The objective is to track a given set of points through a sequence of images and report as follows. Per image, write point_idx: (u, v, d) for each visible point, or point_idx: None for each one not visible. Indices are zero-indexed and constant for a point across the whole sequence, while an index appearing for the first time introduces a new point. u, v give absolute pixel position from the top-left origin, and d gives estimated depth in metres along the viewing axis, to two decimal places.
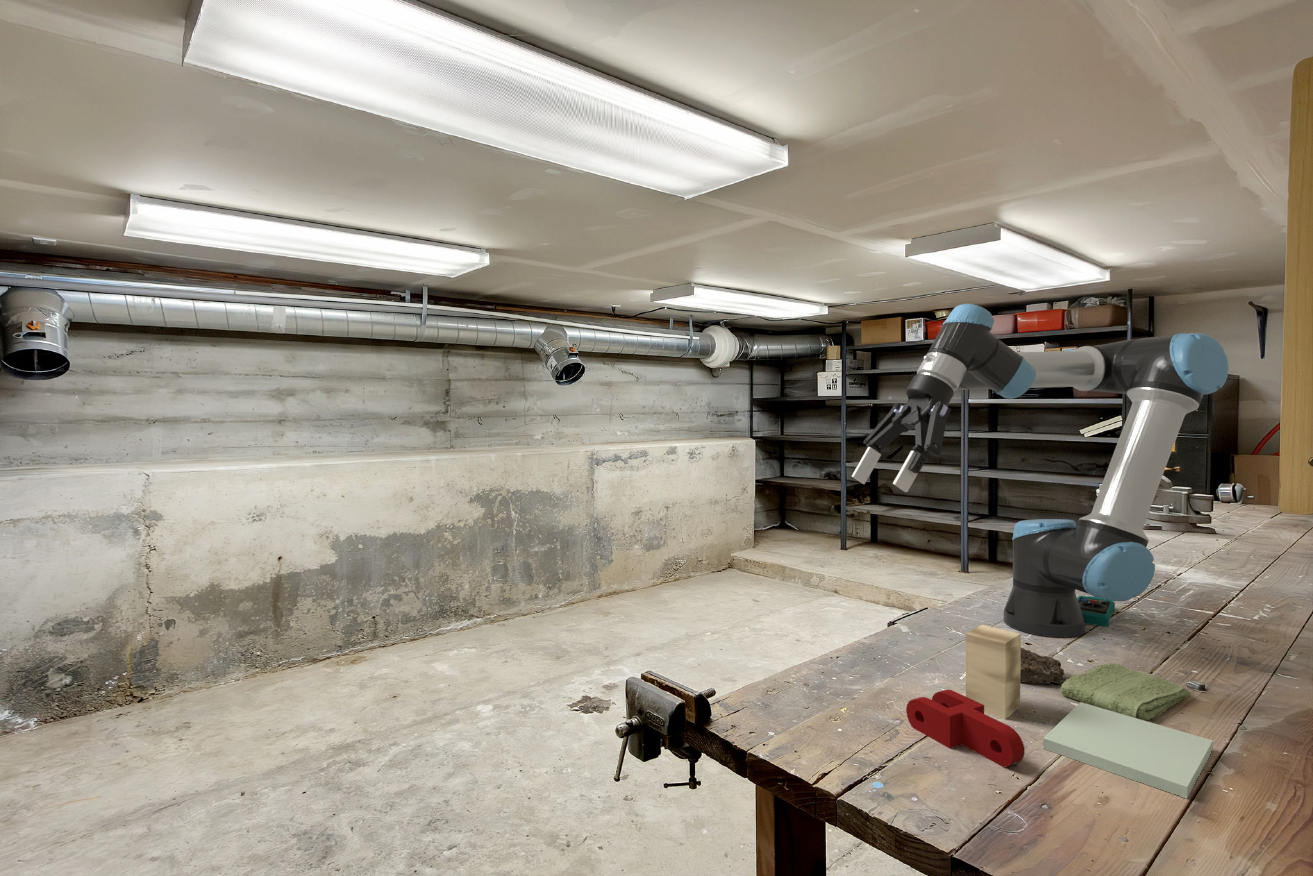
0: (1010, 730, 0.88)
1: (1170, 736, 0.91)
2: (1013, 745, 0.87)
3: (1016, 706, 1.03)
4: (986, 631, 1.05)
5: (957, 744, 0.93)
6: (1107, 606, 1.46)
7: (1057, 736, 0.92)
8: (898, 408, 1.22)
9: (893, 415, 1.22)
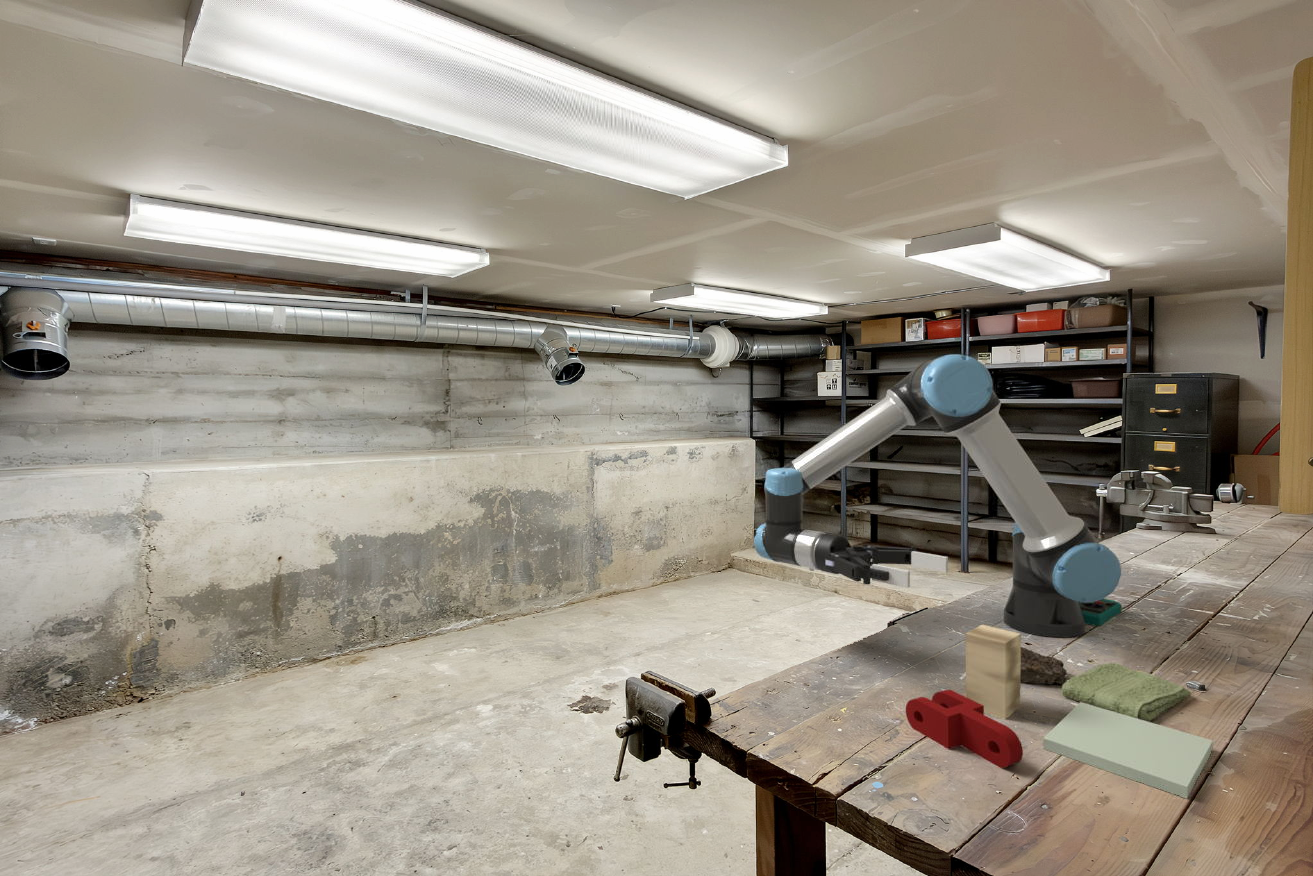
0: (1008, 731, 0.88)
1: (1170, 736, 0.91)
2: (1011, 746, 0.86)
3: (1016, 706, 1.03)
4: (986, 631, 1.05)
5: (956, 744, 0.93)
6: (1108, 607, 1.45)
7: (1057, 736, 0.92)
8: None
9: None
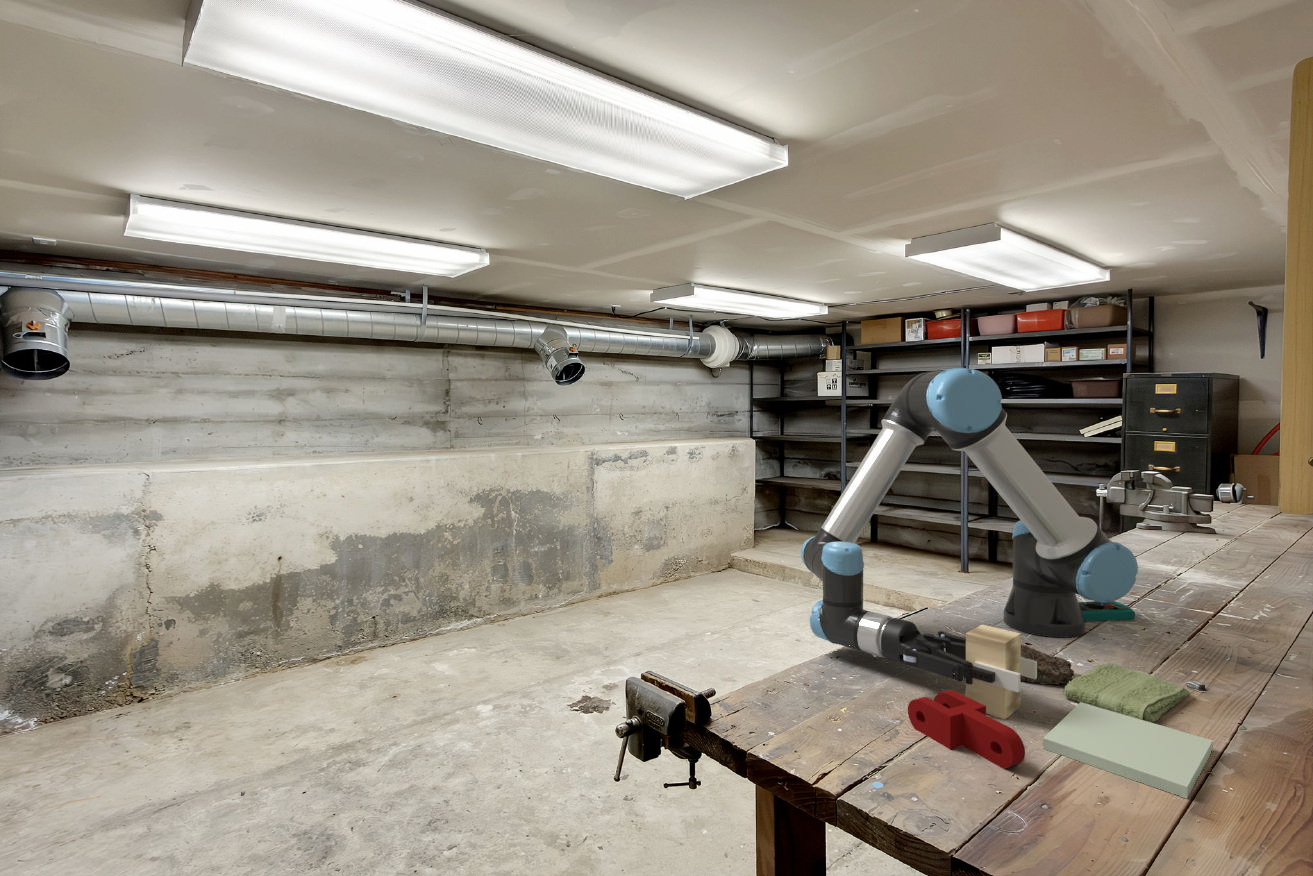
0: (1011, 731, 0.88)
1: (1170, 736, 0.91)
2: (1013, 746, 0.86)
3: (1016, 706, 1.03)
4: (986, 631, 1.05)
5: (958, 745, 0.93)
6: (1108, 610, 1.43)
7: (1057, 736, 0.92)
8: None
9: None
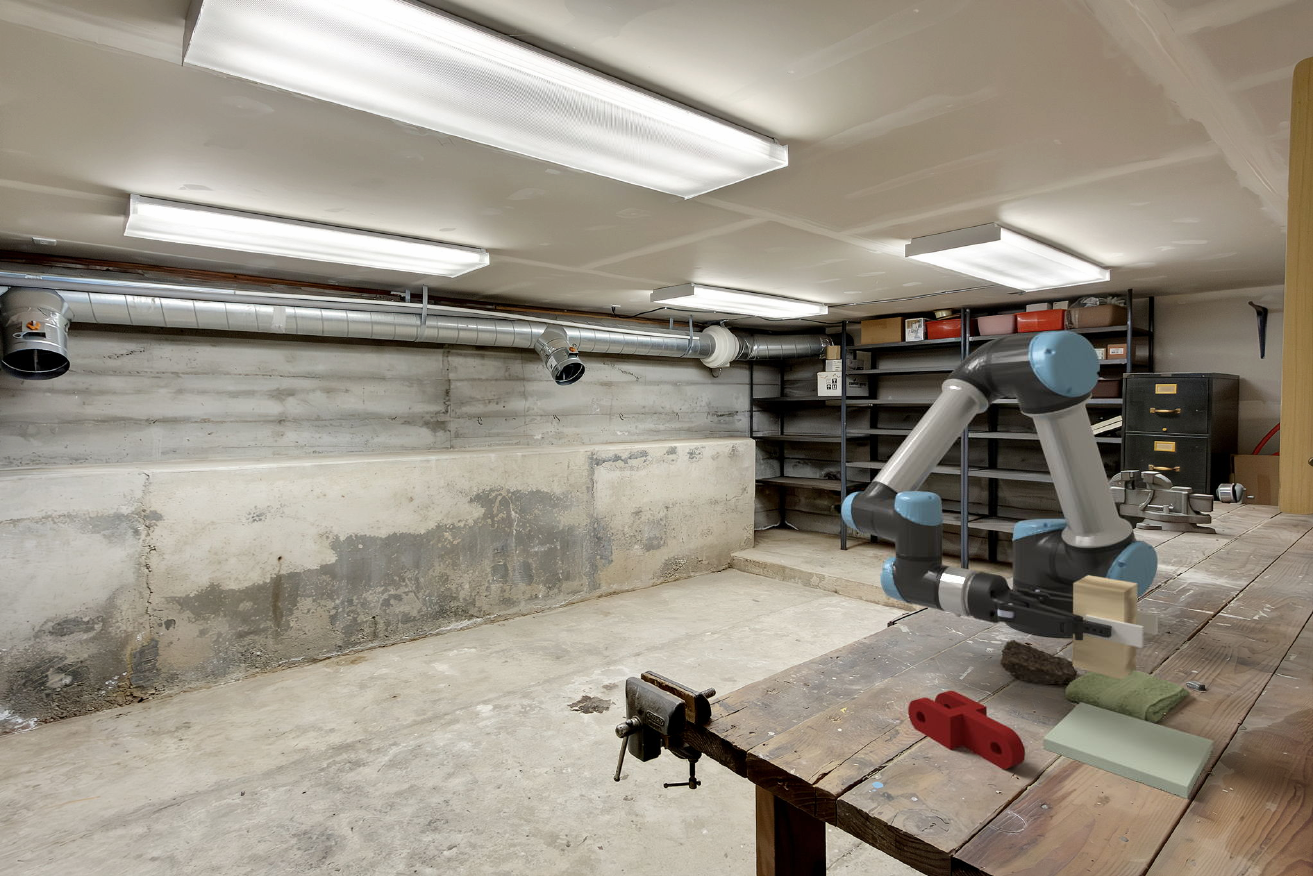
0: (1011, 732, 0.88)
1: (1170, 736, 0.91)
2: (1013, 747, 0.86)
3: (1133, 666, 0.90)
4: (1096, 581, 0.92)
5: (958, 745, 0.93)
6: None
7: (1057, 736, 0.92)
8: None
9: None
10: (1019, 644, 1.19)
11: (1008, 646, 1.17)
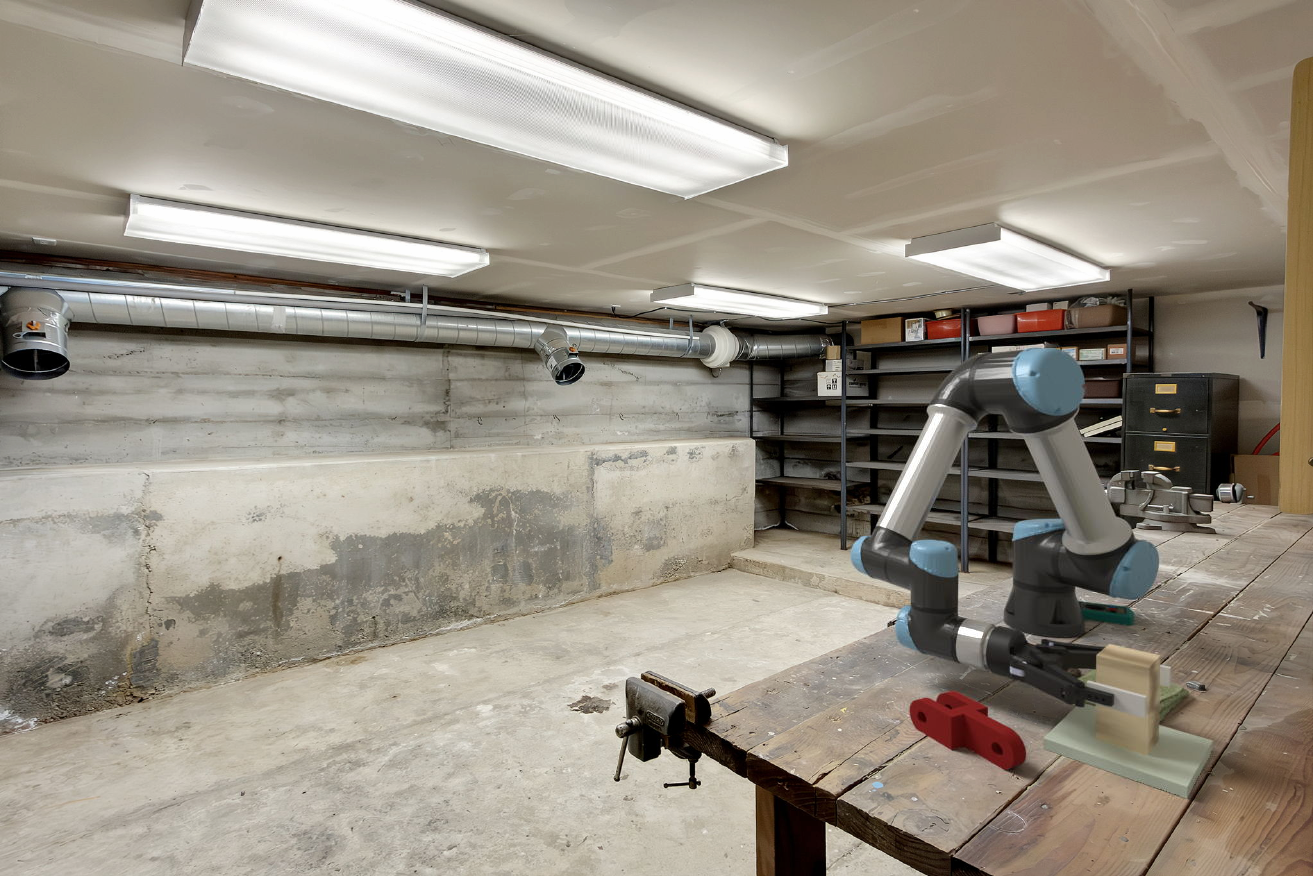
0: (1012, 733, 0.87)
1: (1170, 736, 0.91)
2: (1014, 748, 0.86)
3: (1156, 739, 0.90)
4: (1119, 653, 0.91)
5: (959, 745, 0.93)
6: (1101, 611, 1.43)
7: (1057, 736, 0.92)
8: None
9: None
10: None
11: None
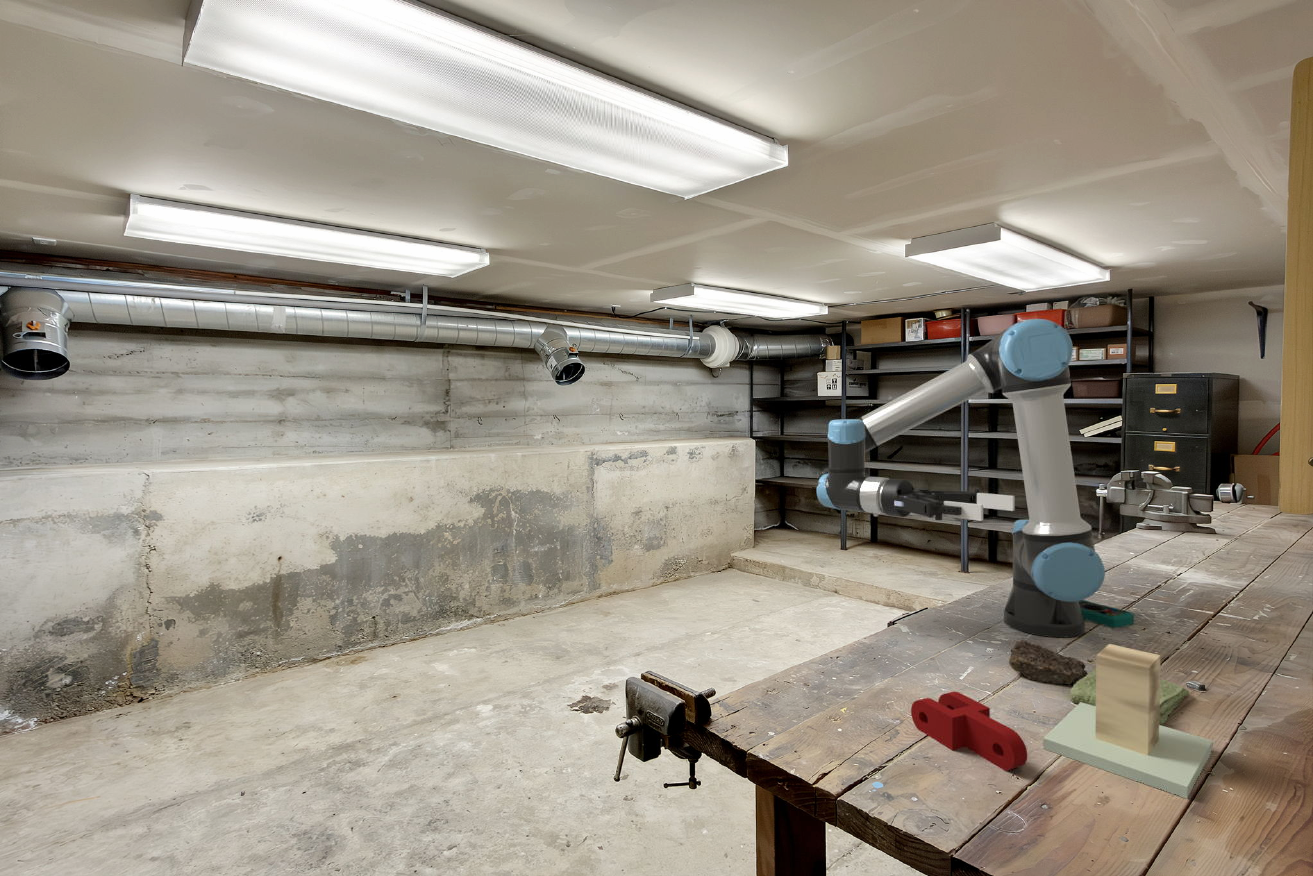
0: (1013, 734, 0.87)
1: (1170, 736, 0.91)
2: (1015, 749, 0.86)
3: (1156, 739, 0.90)
4: (1119, 653, 0.91)
5: (960, 746, 0.92)
6: (1090, 610, 1.43)
7: (1057, 736, 0.92)
8: None
9: None
10: (1029, 644, 1.19)
11: (1017, 645, 1.18)
